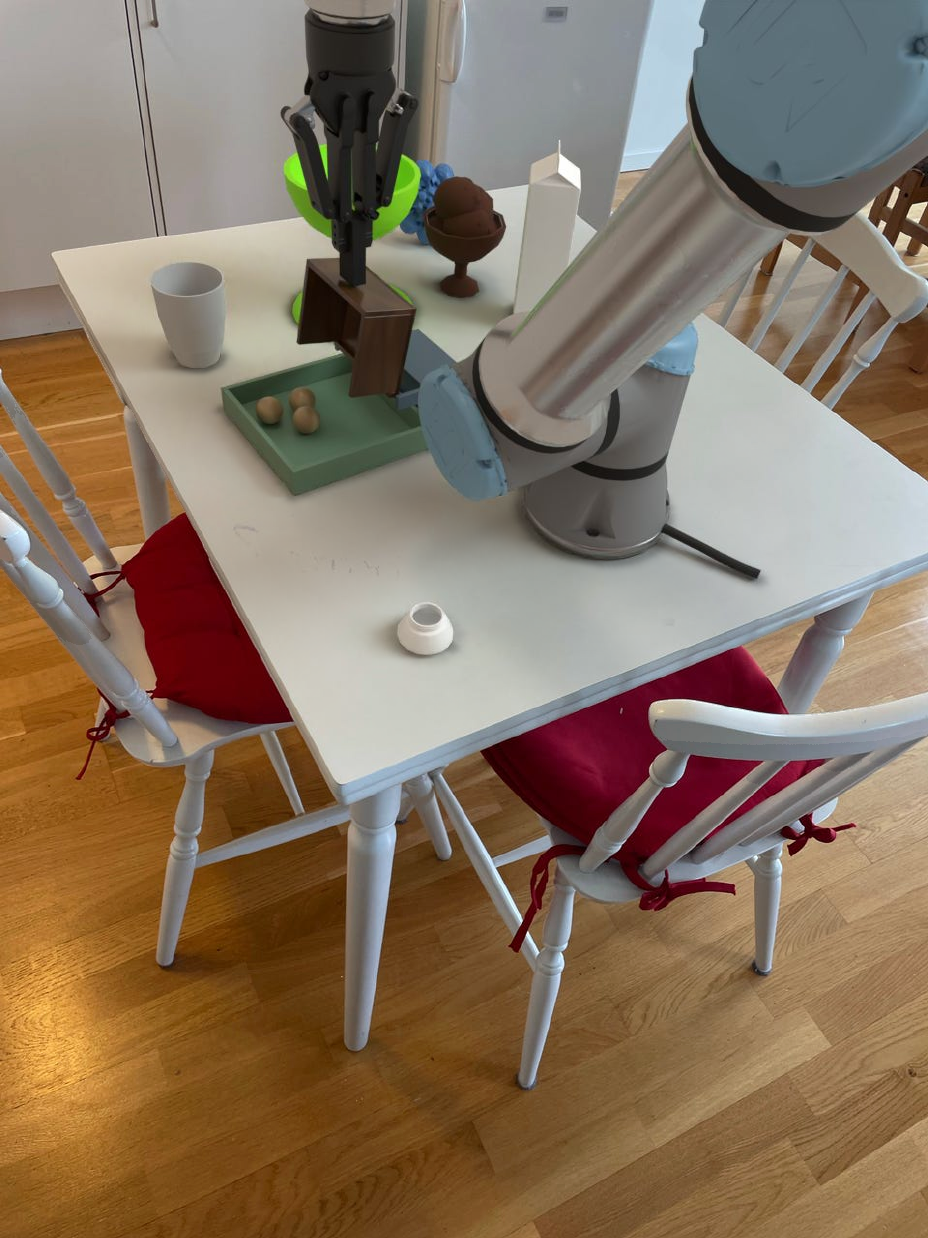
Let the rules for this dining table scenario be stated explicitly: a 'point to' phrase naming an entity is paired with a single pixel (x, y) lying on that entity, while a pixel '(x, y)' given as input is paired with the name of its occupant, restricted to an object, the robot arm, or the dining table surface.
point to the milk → (547, 228)
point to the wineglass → (383, 225)
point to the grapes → (425, 197)
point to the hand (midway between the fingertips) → (352, 279)
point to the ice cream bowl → (462, 230)
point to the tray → (324, 425)
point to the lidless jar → (425, 629)
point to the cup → (191, 311)
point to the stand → (418, 367)
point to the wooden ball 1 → (269, 410)
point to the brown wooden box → (357, 325)
